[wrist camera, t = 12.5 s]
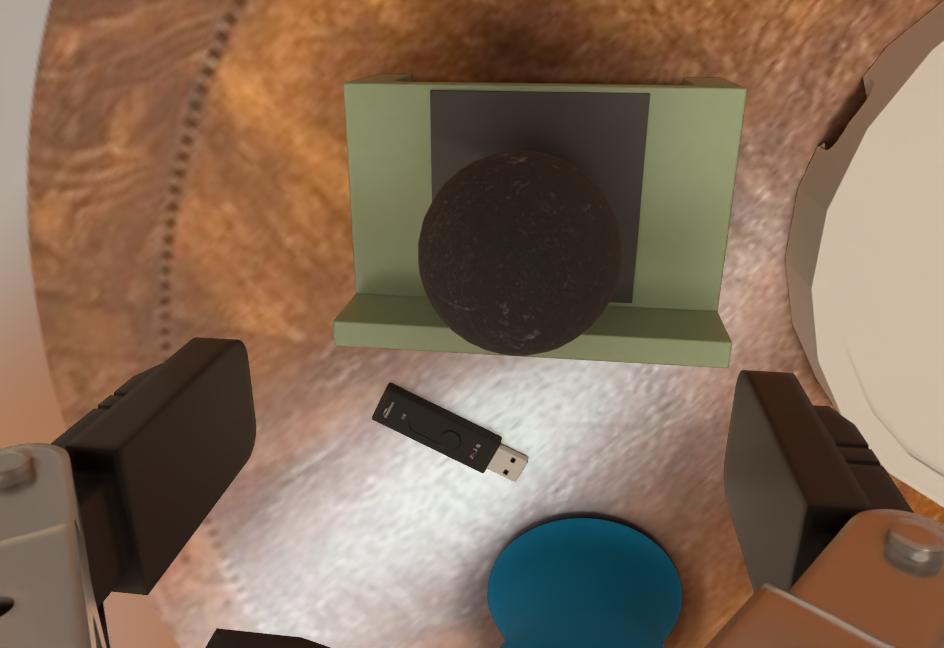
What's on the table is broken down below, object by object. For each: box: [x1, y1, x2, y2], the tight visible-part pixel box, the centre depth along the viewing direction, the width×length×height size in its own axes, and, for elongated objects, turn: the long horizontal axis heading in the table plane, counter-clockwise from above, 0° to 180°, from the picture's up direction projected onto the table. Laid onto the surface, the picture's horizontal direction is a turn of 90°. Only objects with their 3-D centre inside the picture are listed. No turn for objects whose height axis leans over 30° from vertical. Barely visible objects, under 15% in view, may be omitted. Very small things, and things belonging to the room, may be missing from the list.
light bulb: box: [418, 151, 622, 356], centre depth 23 cm, size 6×6×10 cm
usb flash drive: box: [372, 383, 528, 482], centre depth 37 cm, size 8×2×1 cm, turn 65°
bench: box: [333, 74, 747, 368], centre depth 29 cm, size 14×9×8 cm, turn 90°
